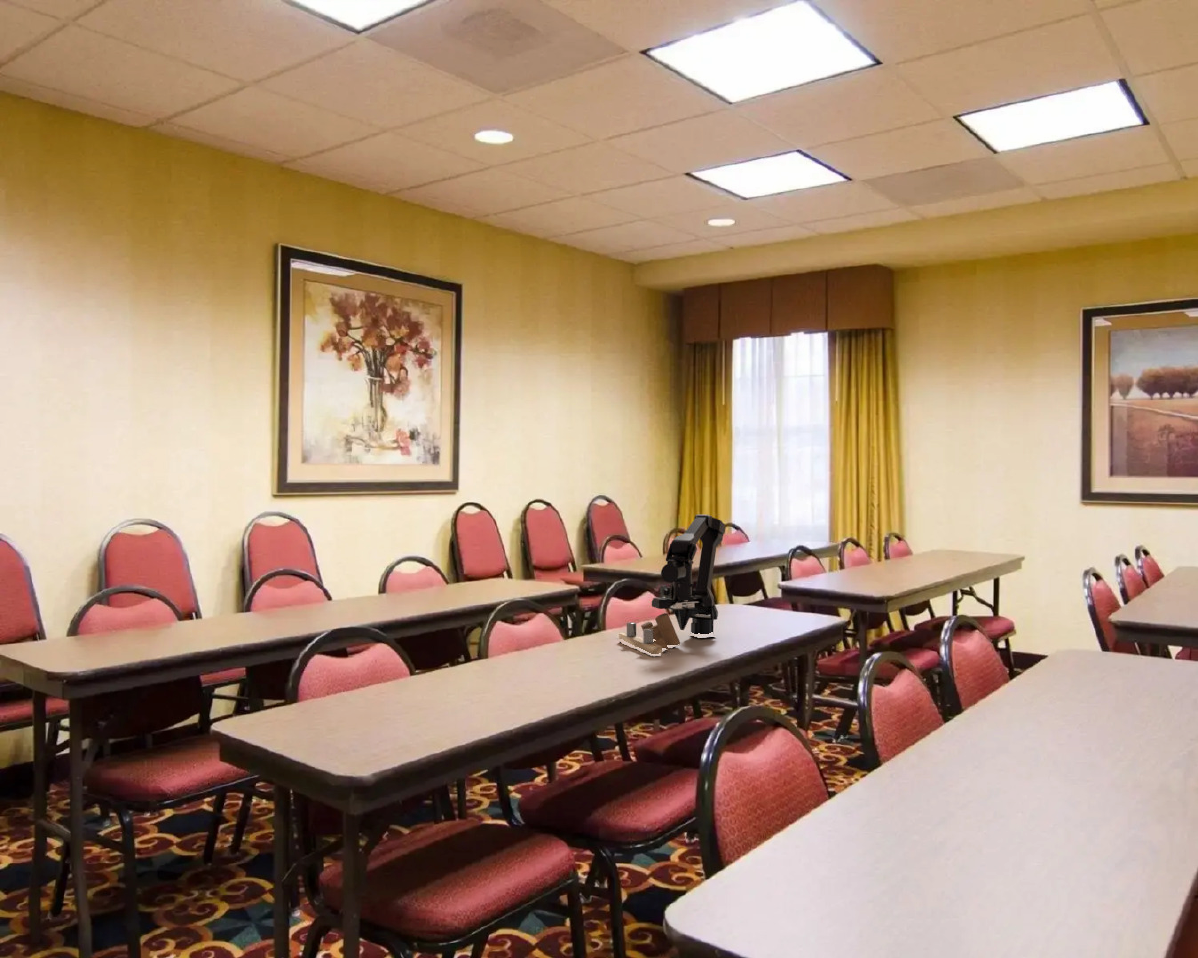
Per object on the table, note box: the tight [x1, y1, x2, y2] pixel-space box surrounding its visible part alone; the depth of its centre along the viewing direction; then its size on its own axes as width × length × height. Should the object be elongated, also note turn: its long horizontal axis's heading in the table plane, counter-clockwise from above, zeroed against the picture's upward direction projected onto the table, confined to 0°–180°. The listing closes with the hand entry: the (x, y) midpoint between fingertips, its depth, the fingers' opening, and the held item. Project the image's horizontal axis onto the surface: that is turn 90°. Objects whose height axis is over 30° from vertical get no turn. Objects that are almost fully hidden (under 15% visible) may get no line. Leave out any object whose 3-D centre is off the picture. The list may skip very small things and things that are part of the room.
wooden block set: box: [640, 612, 681, 650], centre depth 285 cm, size 18×9×10 cm, turn 14°
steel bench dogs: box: [626, 622, 653, 644], centre depth 281 cm, size 3×15×7 cm, turn 23°
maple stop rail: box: [618, 632, 663, 654], centre depth 281 cm, size 3×24×3 cm, turn 23°
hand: (682, 629), depth 287 cm, fingers closed
